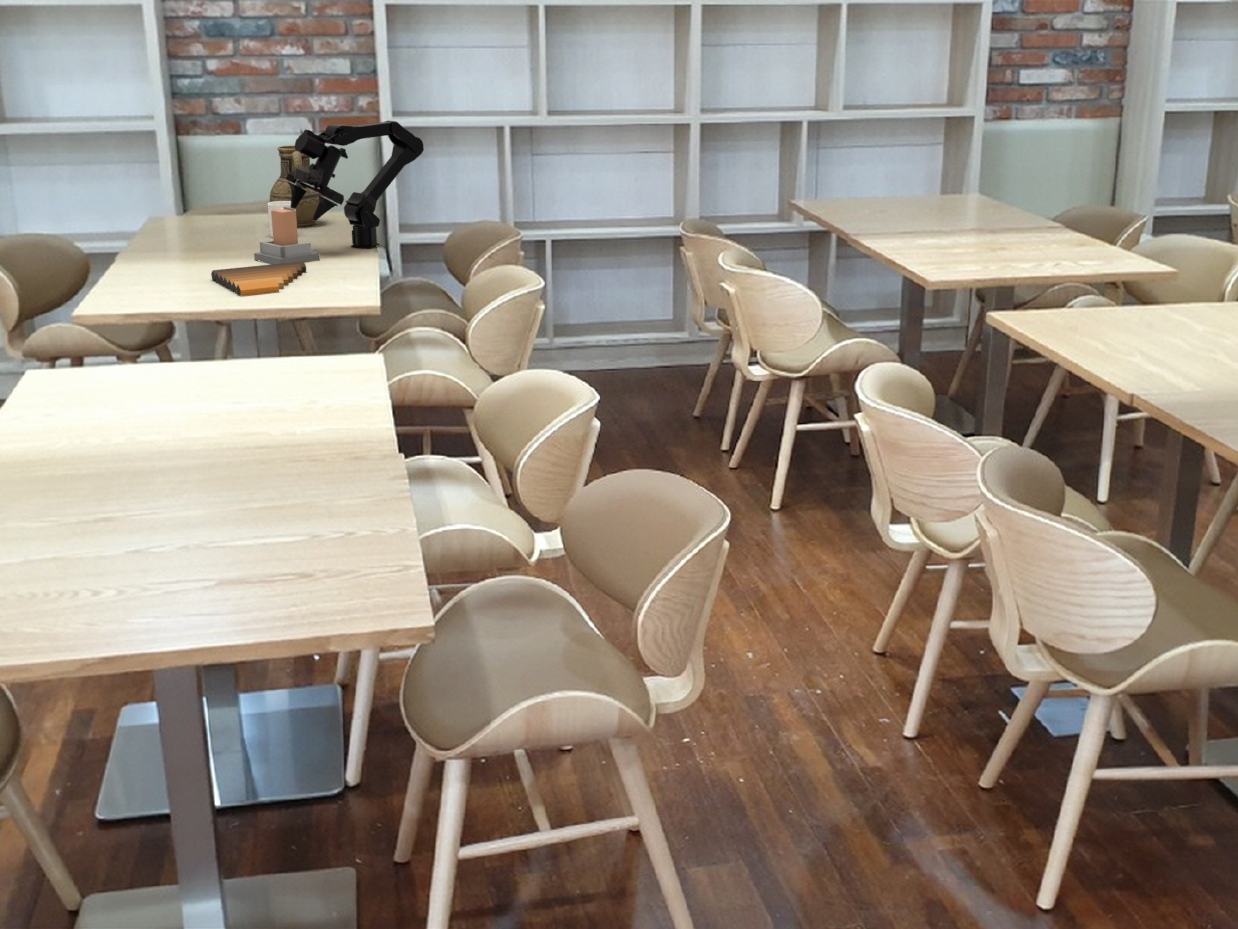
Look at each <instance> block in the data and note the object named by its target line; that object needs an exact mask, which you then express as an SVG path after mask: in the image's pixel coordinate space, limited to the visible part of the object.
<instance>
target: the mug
mask: <svg viewBox="0 0 1238 929" xmlns="http://www.w3.org/2000/svg"><path fill="white" fill-rule="evenodd" d="M283 207H289V208H291V201H275V202H270V201H269V202H267V211H268V213H267V214H268V224H269V226H268V228H269V233H270V234H269V235H270V237H271V238H273V228H272V215H271V210H278V209H284V208H283ZM294 210H295V211H296V209H294Z"/></svg>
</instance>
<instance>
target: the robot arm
mask: <svg viewBox="0 0 1238 929" xmlns="http://www.w3.org/2000/svg"><path fill="white" fill-rule="evenodd" d="M384 136H386V137H388V139H389V140H390V142H391V143H392V144H393V147H392V151H391V156H390V157H389V159H388V160H387V161H386V163H385V164H384V165H383V166H382V167H381V168H380V169H379V172H377V174H376V175H375V176H374V177H373V179H372V180H371V181H370V182H369V184H368V185H367V186H366V188H365V189H364V190H363V191H361V192H357V191H353V192H352V193H351V195H350V196H349V197H348V199H347V200H345V197H344V196H345V195H343V194H342V193H340V192H338V191H336V190H334V189H332V188H330V187H329V183H330V182H331V180H332V178H333V179H335V177H336V174H335V173H334V172H335V170H336V168H337V166H338V163H339V161H340V159H341V158H344V159H346V160H347V159H348V158H349V156H348V153H347V151H346V148H343V147H344V146H347V145H351V144H354V143H356V142H357V141H360V140H363V139H371V138H378V137H384ZM326 144H327V145H328V144H329V145H328V146H327V145H326ZM294 146H295V150H296V151H298V152H300V153H302V154H304V155H306V156H308V157H309V158H310V160H315V159H316V161H315V162H314V163H310V167H309V168H303V167H297V168H296V171H295V173H294V172H290V173H288V175H287V177H286V180H288V181H290V182H288V184H289V185H290V187H291V191H292V195H291V208H294V209H295V208H296V207H297V205H298V204H299V202H300V201H301V199H302V198H303V196H304V195H305V193H306V192H307V191H306V190H304V189H306V188H309V189H311V190H314V191H316V192H318V193H320V194H322V196H324V198H323V197H321V196H319V204H318V207H317V209H316V211H315V214H314V217H313V220H314V221H315V222H316V221H318V220H319V219H320V218H321V217H323V215H324V214H326V213H327V212H328V211H330V210H332V208H334V207H338V204H339V205H340V206H342V205H343V202H344V201H345V205H344V207H343V214H344V216H345V217H346V219H347V221H348V223H349V225H351V226H352V230H351V239H352V240H351V241H352V244H351V245H350V247H351V248H361V249H372V248H374V247H377V246H380V245H381V243H380V242H378V237H377V235H378V234H377V227H378V228H379V227H380V226H379V225H380V221H381V219H380V218H379V217H378V215H376V213H375V211H376V207H377V203H378V200H379V199H380V198H381V196H383V194H384V193H385V191H386V190H387V189H388V188H389V187H390V185H391V184H392V183H393V182H394V180H395V179H396V178H397V177H398V175H399V174H400V173H401V171H402V170H403V169H404V167H406V166H407V165H409V164H410V163H412V162H414V161H415V160H416V159H417V158H418V157H420V156H421V155H422V154H423V152H424V149H425V148H424V142H423V140H422V139H421V138H420V137H418V136H415V135H414V134H413V133H412V132H411V131H409V130H407V129H406V128H405V127H403V126H402V125H401V124H400V122H398V121H394V120H385V121H382V122H373V123H365V124H358V125H356V124H355V125H349V124H348V125H347V124H346V125H345V124H337V123H334V124H333V123H332V124H328V125H327V126H326V128H325V130H323V131H322V132H321V133H319V134H316V133H314V132H313V130H310V129H304V130H303V132H302V133H301V134H299V136H298V137H297V138H296V139H295V142H294ZM336 146H341V147H340V148H339V147H336ZM342 146H343V147H342ZM312 185H314V186H312ZM318 187H319V188H320V189H317V188H318ZM303 188H304V189H303Z"/></svg>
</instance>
